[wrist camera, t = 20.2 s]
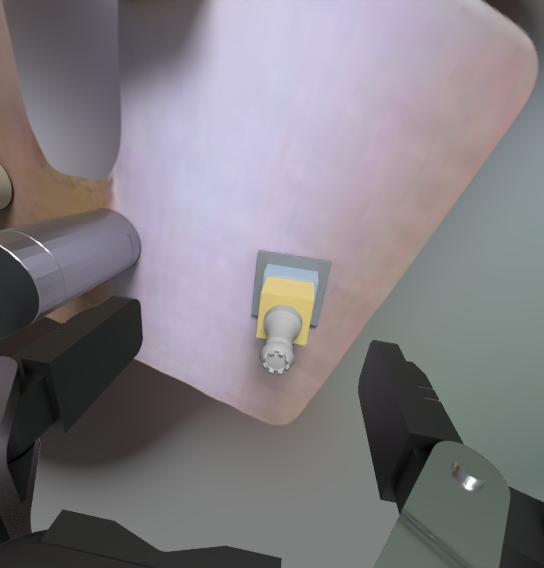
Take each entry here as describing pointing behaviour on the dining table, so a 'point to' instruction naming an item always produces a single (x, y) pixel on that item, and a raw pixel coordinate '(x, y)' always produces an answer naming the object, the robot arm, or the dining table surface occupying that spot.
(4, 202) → the travel mug
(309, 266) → the baseplate
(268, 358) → the rook chess piece
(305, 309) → the mustard block
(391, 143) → the dining table surface
